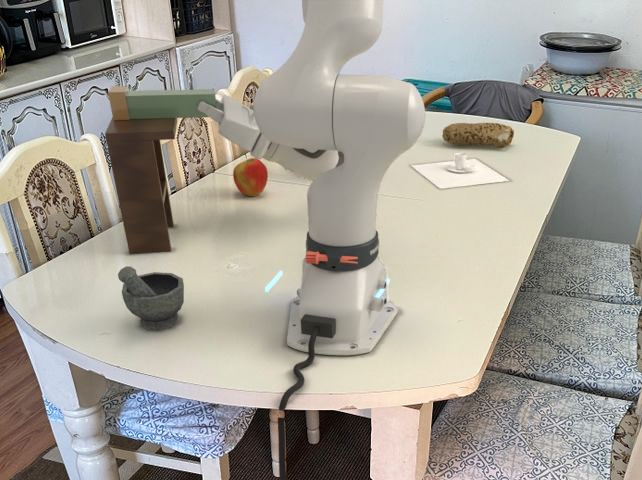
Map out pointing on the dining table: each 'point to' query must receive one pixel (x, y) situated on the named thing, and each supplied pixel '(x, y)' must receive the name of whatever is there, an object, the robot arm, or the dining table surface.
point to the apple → (250, 177)
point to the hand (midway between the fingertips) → (198, 101)
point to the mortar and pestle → (153, 297)
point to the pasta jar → (158, 103)
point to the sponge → (478, 134)
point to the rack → (142, 181)
